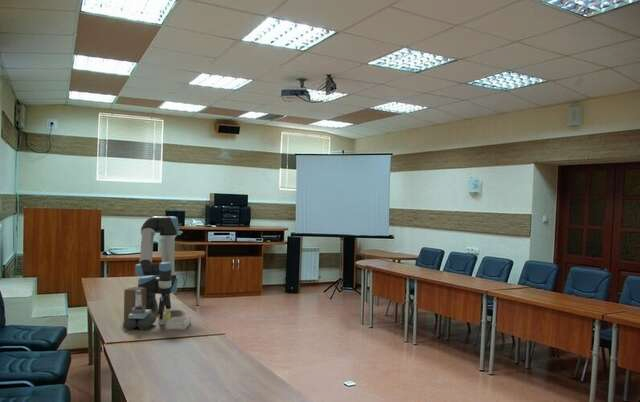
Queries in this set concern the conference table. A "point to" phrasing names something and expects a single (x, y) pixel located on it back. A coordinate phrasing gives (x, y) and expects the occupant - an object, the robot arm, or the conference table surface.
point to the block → (132, 299)
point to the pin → (138, 299)
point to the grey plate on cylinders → (139, 319)
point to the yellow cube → (165, 316)
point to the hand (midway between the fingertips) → (164, 321)
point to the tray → (177, 323)
